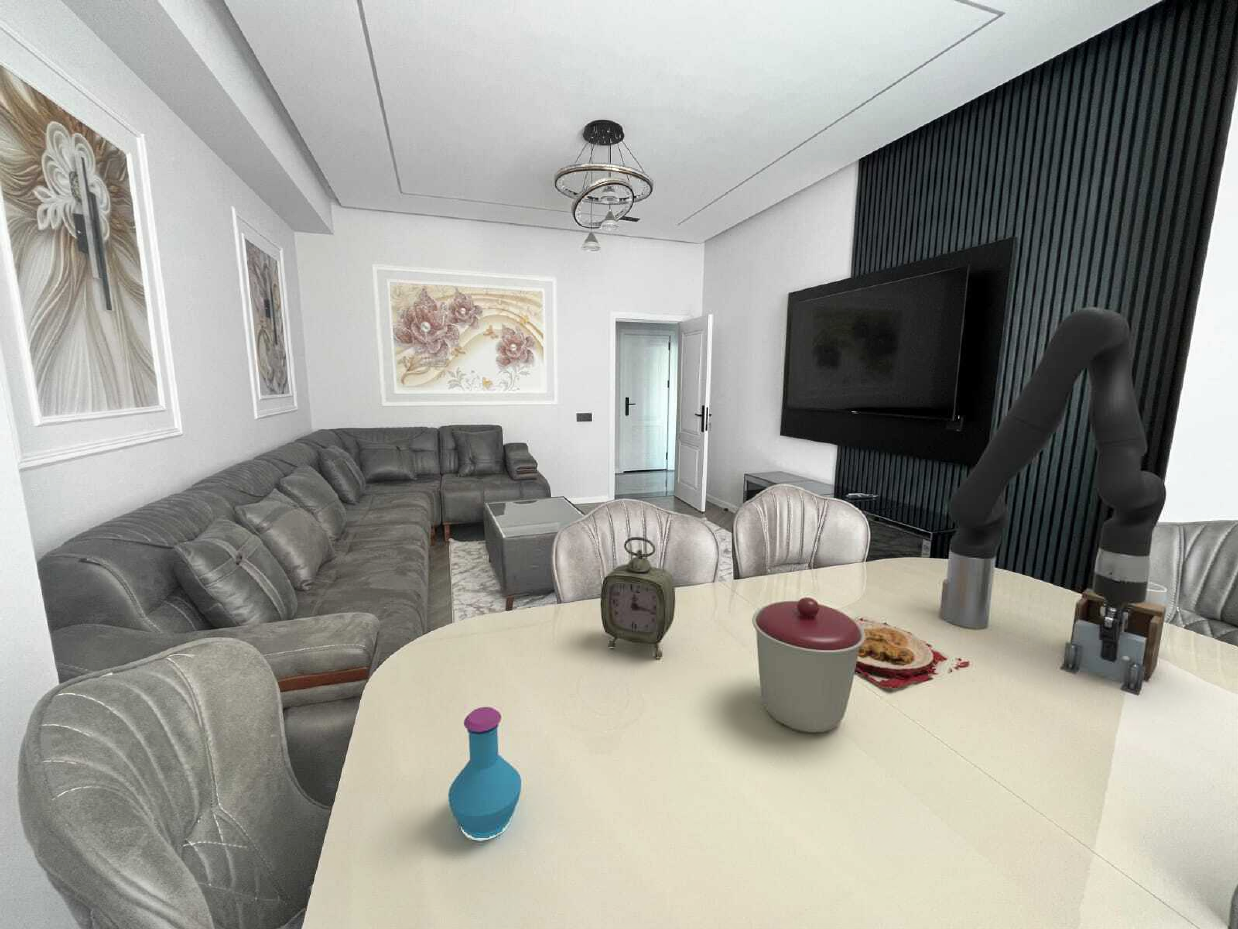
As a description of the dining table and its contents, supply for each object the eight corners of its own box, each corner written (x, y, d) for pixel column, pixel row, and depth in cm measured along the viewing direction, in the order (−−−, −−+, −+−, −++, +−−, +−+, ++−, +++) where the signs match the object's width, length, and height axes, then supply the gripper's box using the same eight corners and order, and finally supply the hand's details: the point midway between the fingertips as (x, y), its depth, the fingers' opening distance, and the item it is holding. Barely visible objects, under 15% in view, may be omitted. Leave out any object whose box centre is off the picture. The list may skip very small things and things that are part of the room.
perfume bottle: (458, 794, 72) (453, 695, 70) (525, 790, 73) (522, 692, 71) (441, 853, 63) (435, 741, 61) (518, 847, 64) (514, 737, 62)
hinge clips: (1060, 669, 105) (1063, 645, 104) (1063, 664, 107) (1067, 641, 106) (1138, 695, 96) (1142, 670, 95) (1141, 690, 98) (1145, 665, 97)
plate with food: (888, 698, 96) (890, 681, 96) (787, 633, 120) (788, 619, 119) (971, 670, 106) (973, 654, 106) (862, 616, 130) (864, 602, 129)
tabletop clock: (600, 650, 112) (600, 538, 108) (616, 632, 120) (616, 528, 116) (664, 664, 106) (666, 546, 103) (676, 644, 115) (679, 535, 111)
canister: (853, 694, 96) (861, 586, 93) (864, 760, 79) (875, 630, 76) (752, 676, 102) (757, 574, 99) (743, 734, 85) (748, 613, 82)
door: (1067, 666, 106) (1073, 624, 105) (1073, 660, 108) (1078, 619, 107) (1135, 688, 98) (1142, 644, 97) (1139, 681, 101) (1146, 638, 99)
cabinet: (1068, 656, 110) (1076, 598, 108) (1079, 643, 115) (1087, 588, 113) (1148, 681, 100) (1158, 618, 98) (1156, 666, 106) (1166, 606, 104)
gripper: (1103, 561, 107) (1093, 640, 110) (1086, 576, 99) (1076, 660, 101) (1154, 571, 101) (1143, 653, 104) (1141, 587, 93) (1129, 677, 95)
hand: (1110, 656), depth 103 cm, fingers closed on door, 3 cm apart
